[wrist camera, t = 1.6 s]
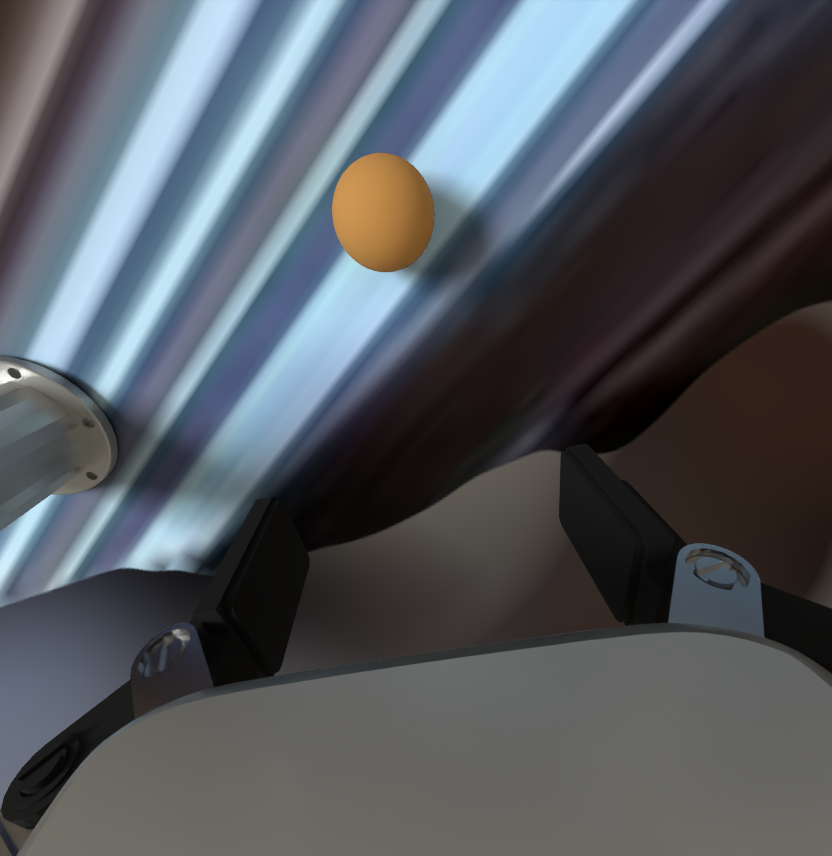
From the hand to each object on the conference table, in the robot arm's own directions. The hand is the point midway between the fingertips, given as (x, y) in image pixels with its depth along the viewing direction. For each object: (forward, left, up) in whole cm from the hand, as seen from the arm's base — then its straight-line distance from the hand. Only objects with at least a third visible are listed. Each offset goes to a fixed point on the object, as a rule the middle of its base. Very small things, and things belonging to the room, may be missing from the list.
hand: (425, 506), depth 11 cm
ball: (0, +9, -15) cm, 18 cm away
